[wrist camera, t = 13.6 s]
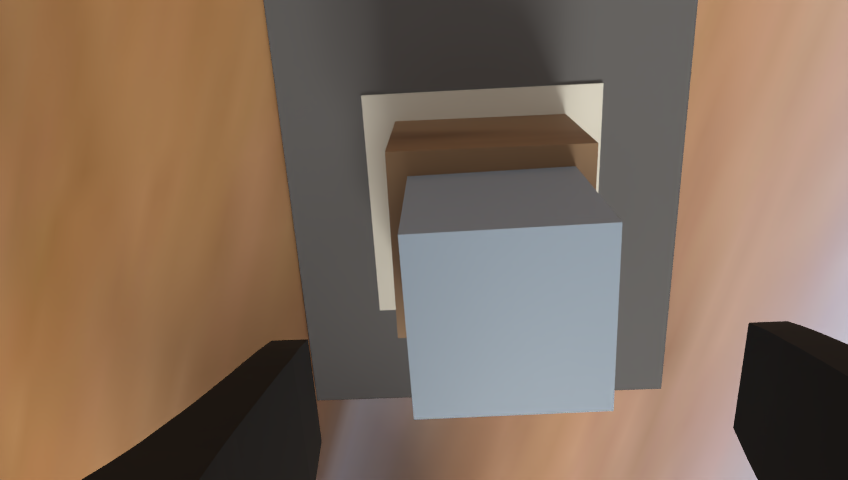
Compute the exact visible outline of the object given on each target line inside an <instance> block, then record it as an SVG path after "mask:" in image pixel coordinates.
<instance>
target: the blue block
mask: <svg viewBox="0 0 848 480" xmlns="http://www.w3.org/2000/svg"><path fill="white" fill-rule="evenodd" d="M621 243H622V221H621V220H620V219H619V217H618V216H617V215H616V214H615V213H614V211H613V210H612V209H611V208H610V207H609V205H608V204H607V203H606V202H605V201H604V199H603V198H602V197H601V196H600V195H599V193H598V192H597V191H596V190H595V189H594V187H593V186H592V185H591V184H590V183H589V181H588V180H587V179H586V178H585V177H584V175H583V174H582V173H581V172H580V171H579V169H578V168H577V167H576V166H571V167H554V168H538V169H521V170H505V171H488V172H471V173H455V174H438V175H422V176H407V181H406V187H405V194H404V200H403V206H402V212H401V218H400V224H399V230H398V244H399V255H400V266H401V278H402V289H403V301H404V312H405V324H406V335H407V347H408V358H409V370H410V381H411V392H412V404H413V415H414V420H418V419H441V418H463V417H486V416H508V415H531V414H553V413H576V412H598V411H613V410H614V389H615V368H616V347H617V326H618V306H619V285H620V264H621Z"/></svg>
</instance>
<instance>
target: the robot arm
mask: <svg viewBox="0 0 848 480" xmlns="http://www.w3.org/2000/svg"><path fill="white" fill-rule="evenodd" d="M733 428H734V430H735V433H736V435H737V437H738V439H739V441H740V444H741V446H742V448H743V450H744V452H745V455H746V457H747V459H748V461H749V463H750V465H751V467H752V469H753V471H754V473H755V475H756V477H757V479H758V480H848V344H845V343H843V342H841V341H838V340H836V339H834V338H831V337H829V336H826V335H824V334H822V333H819V332H817V331H814V330H812V329H809V328H806V327H803V326H801V325H797V324H794V323H791V322H788V321H784V322H757V323H749V325H748V332H747V339H746V346H745V352H744V359H743V366H742V373H741V380H740V386H739V393H738V400H737V407H736V414H735V420H734V427H733ZM320 448H321V434H320V426H319V419H318V412H317V404H316V397H315V389H314V382H313V375H312V367H311V360H310V353H309V345H308V340H282V341H271V342H269V343H268V344H266V345H265V346H264V347H262V348H261V349H260V350H258V351H257V352H256V353H255V354H253V355H252V356H251V357H250V358H249V359H247V360H246V361H245V362H244V363H242V364H241V365H240V366H239V367H238V368H236V369H235V370H234V371H233V372H232V373H230V374H229V375H228V376H227V377H225V378H224V379H223V380H222V381H221V382H219V383H218V384H217V385H216V386H214V387H213V388H212V389H211V390H209V391H208V392H207V393H206V394H204V395H203V396H202V397H201V398H199V399H198V400H197V401H196V402H194V403H193V404H192V405H191V406H189V407H188V408H186V409H185V410H184V411H182V412H181V413H180V414H178V415H177V416H176V417H174V418H173V419H171V420H170V421H169V422H167V423H166V424H165V425H163V426H162V427H161V428H159V429H158V430H157V431H155V432H154V433H152V434H151V435H150V436H148V437H147V438H146V439H144V440H143V441H141V442H140V443H139V444H137V445H136V446H134V447H133V448H131V449H130V450H128V451H127V452H125V453H124V454H122V455H121V456H119V457H117V458H116V459H114V460H113V461H111V462H110V463H108V464H106V465H105V466H103V467H102V468H100V469H98V470H97V471H95V472H93V473H92V474H90V475H88V476H87V477H85V478H84V479H82V480H316V474H317V468H318V461H319V454H320Z"/></svg>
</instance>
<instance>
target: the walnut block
mask: <svg viewBox="0 0 848 480" xmlns="http://www.w3.org/2000/svg"><path fill="white" fill-rule="evenodd" d="M385 162H386V176H387V190H388V205H389V219H390V233H391V247H392V262H393V276H394V290H395V304H396V319H397V333H398V338H407V335H406V324H405V312H404V301H403V289H402V278H401V266H400V255H399V244H398V230H399V224H400V218H401V212H402V206H403V200H404V194H405V187H406V181H407V176H422V175H438V174H455V173H471V172H488V171H505V170H521V169H538V168H554V167H571V166H576V167H577V168H578V169H579V171H580V172H581V173H582V174H583V175H584V177H585V178H586V179H587V180H588V181H589V183H590V184H591V185H592V186H593V187H594V189H595V190H596V181H597V162H598V142H597V141H596V140H594V139H593V138H592V137H591V136H590V135H589V134H588V133H587V132H585V131H584V130H583V129H582V128H581V127H580V126H579V125H578V124H576V123H575V122H574V121H573V120H572V119H571V118H570V117H569V116H567V115H566V114H551V115H528V116H505V117H482V118H459V119H436V120H413V121H395V123H394V126H393V129H392V132H391V135H390V138H389V141H388V144H387V147H386V150H385Z"/></svg>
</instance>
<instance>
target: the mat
mask: <svg viewBox="0 0 848 480" xmlns="http://www.w3.org/2000/svg"><path fill="white" fill-rule="evenodd" d="M697 4H698V0H264V8H265V15H266V22H267V30H268V37H269V45H270V52H271V60H272V67H273V74H274V82H275V89H276V97H277V104H278V111H279V119H280V126H281V134H282V141H283V149H284V156H285V163H286V171H287V178H288V186H289V193H290V201H291V208H292V215H293V223H294V230H295V238H296V245H297V252H298V260H299V267H300V275H301V282H302V290H303V297H304V304H305V312H306V319H307V327H308V334H309V342H310V349H311V356H312V364H313V371H314V379H315V386H316V394H317V400H344V399H373V398H402V397H412V392H411V381H410V370H409V358H408V347H407V338H398V333H397V319H396V304H395V290H394V276H393V262H392V247H391V233H390V219H389V205H388V190H387V176H386V162H385V150H386V147H387V144H388V141H389V138H390V135H391V132H392V129H393V126H394V123H395V121H413V120H436V119H459V118H482V117H505V116H528V115H551V114H566V115H567V116H569V117H570V118H571V119H572V120H573V121H574V122H575V123H576V124H578V125H579V126H580V127H581V128H582V129H583V130H584V131H585V132H587V133H588V134H589V135H590V136H591V137H592V138H593V139H594V140H596V141H597V142H598V162H597V181H596V191H597V192H598V193H599V195H600V196H601V197H602V198H603V199H604V201H605V202H606V203H607V204H608V205H609V207H610V208H611V209H612V210H613V211H614V213H615V214H616V215H617V216H618V217H619V219H620V220H621V221H622V243H621V264H620V285H619V306H618V326H617V347H616V368H615V389H614V390H635V389H661V383H662V373H663V362H664V352H665V341H666V330H667V320H668V309H669V299H670V288H671V278H672V267H673V257H674V246H675V236H676V225H677V215H678V204H679V193H680V183H681V172H682V162H683V151H684V141H685V130H686V120H687V109H688V99H689V88H690V78H691V67H692V56H693V46H694V35H695V25H696V14H697Z"/></svg>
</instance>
